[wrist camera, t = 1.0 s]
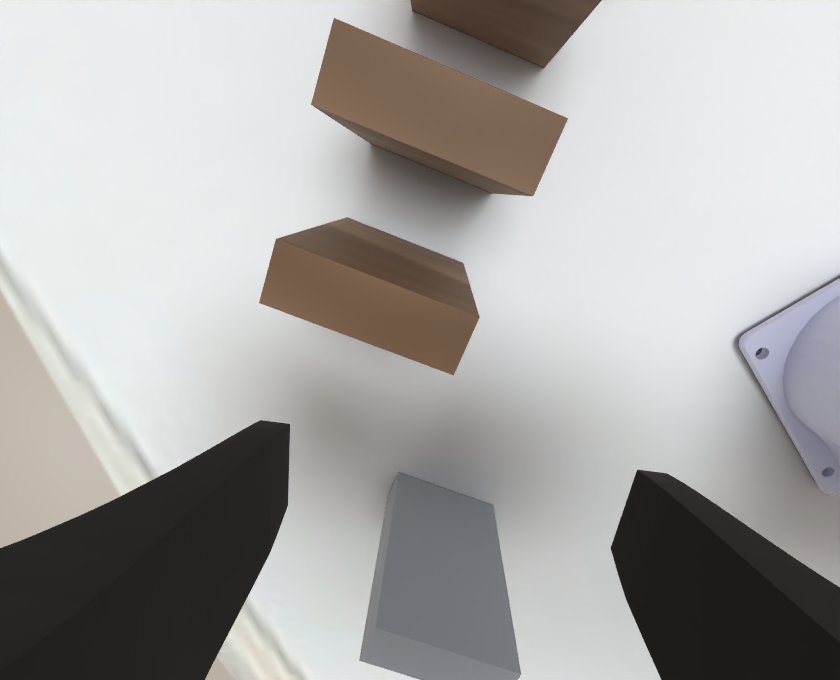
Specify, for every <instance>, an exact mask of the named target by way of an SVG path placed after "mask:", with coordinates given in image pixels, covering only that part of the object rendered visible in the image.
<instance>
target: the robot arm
mask: <svg viewBox="0 0 840 680" xmlns="http://www.w3.org/2000/svg"><path fill="white" fill-rule="evenodd" d="M739 348H740V350H741V351H742V353H743V355H744V357H745V358H746V360H747V362H748V364H749V365H750V367H751V369H752V371H753V373H754V374H755V376H756V378H757V380H758V381H759V383H760V385H761V387H762V388H763V390H764V392H765V394H766V395H767V397H768V399H769V401H770V402H771V404H772V406H773V408H774V409H775V411H776V413H777V415H778V416H779V418H780V420H781V422H782V424H783V425H784V427H785V429H786V431H787V432H788V434H789V436H790V438H791V439H792V441H793V443H794V445H795V446H796V448H797V450H798V452H799V453H800V455H801V457H802V459H803V460H804V462H805V464H806V466H807V468H808V469H809V471H810V473H811V475H812V476H813V478H814V480H815V482H816V483H817V485H818V487H819V488H820V489H821V490H822V491H823V492H824V493H826V494H827V495H830V496H837V495H840V278H839V279H837V280H835V281H834V282H832V283H830V284H828V285H827V286H825V287H823V288H821V289H820V290H818V291H816V292H815V293H813V294H811V295H809V296H808V297H806V298H804V299H803V300H801V301H799V302H797V303H796V304H794V305H792V306H790V307H789V308H787V309H785V310H784V311H782V312H780V313H778V314H777V315H775V316H773V317H772V318H770V319H768V320H766V321H765V322H763V323H761V324H759V325H758V326H756V327H754V328H753V329H751V330H749V331H747V332H746V333H745V334H743V335H742V336H741V338H740V340H739ZM760 348H762V352H761V353H760V354H759V355H757V356H756V355H755V354H756V352H757V350H759V349H760ZM289 440H290V424H285V423H277V422H270V421H262V420H261V421H258V422H256V423H254V424H252V425H251V426H249V427H247V428H245V429H243V430H242V431H240V432H238V433H236V434H235V435H233V436H231V437H229V438H228V439H226V440H224V441H223V442H221V443H219V444H217V445H216V446H214V447H212V448H210V449H209V450H207V451H205V452H203V453H202V454H200V455H198V456H196V457H194V458H193V459H191V460H189V461H187V462H186V463H184V464H182V465H180V466H179V467H177V468H175V469H173V470H171V471H169V472H167V473H165V474H163V475H161V476H160V477H158V478H156V479H154V480H152V481H150V482H148V483H146V484H144V485H142V486H140V487H138V488H136V489H134V490H132V491H130V492H128V493H126V494H125V495H123V496H121V497H119V498H117V499H115V500H113V501H111V502H108V503H106V504H104V505H102V506H100V507H98V508H96V509H94V510H91V511H89V512H87V513H85V514H82V515H81V516H78V517H76V518H73V519H71V520H69V521H66V522H64V523H62V524H60V525H57V526H55V527H52V528H50V529H48V530H45V531H43V532H41V533H39V534H36V535H33V536H31V537H29V538H26V539H24V540H21V541H19V542H16V543H13V544H11V545H8V546H5V547H3V548H0V680H205V678H206V676H207V674H208V672H209V670H210V668H211V666H212V664H213V662H214V660H215V658H216V656H217V654H218V653H219V651H220V649H221V647H222V645H223V643H224V641H225V639H226V637H227V635H228V633H229V631H230V629H231V627H232V626H233V624H234V622H235V620H236V618H237V616H238V614H239V612H240V610H241V608H242V606H243V604H244V602H245V601H246V599H247V597H248V595H249V593H250V591H251V589H252V587H253V585H254V583H255V581H256V579H257V577H258V575H259V573H260V571H261V569H262V567H263V565H264V564H265V562H266V560H267V558H268V556H269V554H270V551H271V549H272V546H273V544H274V541H275V539H276V536H277V533H278V531H279V528H280V525H281V523H282V520H283V517H284V514H285V512H286V509H287V506H288V478H289ZM825 468H826V469H825ZM824 469H825V470H824ZM823 470H824V471H823ZM611 550H612V554H613V557H614V561H615V564H616V568H617V572H618V575H619V578H620V581H621V585H622V588H623V591H624V594H625V597H626V600H627V602H628V605H629V607H630V609H631V612H632V614H633V616H634V619H635V621H636V623H637V625H638V628H639V630H640V632H641V635H642V637H643V639H644V642H645V644H646V646H647V648H648V651H649V653H650V655H651V657H652V659H653V662H654V664H655V666H656V668H657V671H658V673H659V675H660V677H661V680H840V587H838V586H836V585H835V584H833V583H832V582H830V581H829V580H827V579H825V578H824V577H822V576H821V575H819V574H818V573H816V572H815V571H813V570H812V569H810V568H808V567H807V566H805V565H804V564H802V563H801V562H799V561H798V560H796V559H795V558H793V557H792V556H790V555H789V554H787V553H786V552H784V551H783V550H782V549H780V548H779V547H777V546H776V545H774V544H773V543H771V542H770V541H768V540H767V539H765V538H764V537H762V536H761V535H759V534H758V533H757V532H755V531H754V530H752V529H751V528H749V527H748V526H746V525H745V524H744V523H742V522H741V521H739V520H738V519H736V518H735V517H733V516H732V515H730V514H729V513H728V512H726V511H725V510H723V509H722V508H720V507H719V506H717V505H716V504H714V503H713V502H712V501H710V500H709V499H707V498H706V497H704V496H703V495H701V494H700V493H698V492H697V491H695V490H694V489H692V488H690V487H689V486H687V485H686V484H684V483H682V482H681V481H679V480H678V479H676V478H674V477H672V476H670V475H669V474H666V473H658V472H651V471H643V470H637V472H636V475H635V478H634V481H633V484H632V487H631V490H630V493H629V496H628V499H627V502H626V505H625V508H624V511H623V514H622V516H621V519H620V522H619V525H618V528H617V531H616V534H615V537H614V540H613V543H612V546H611Z"/></svg>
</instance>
